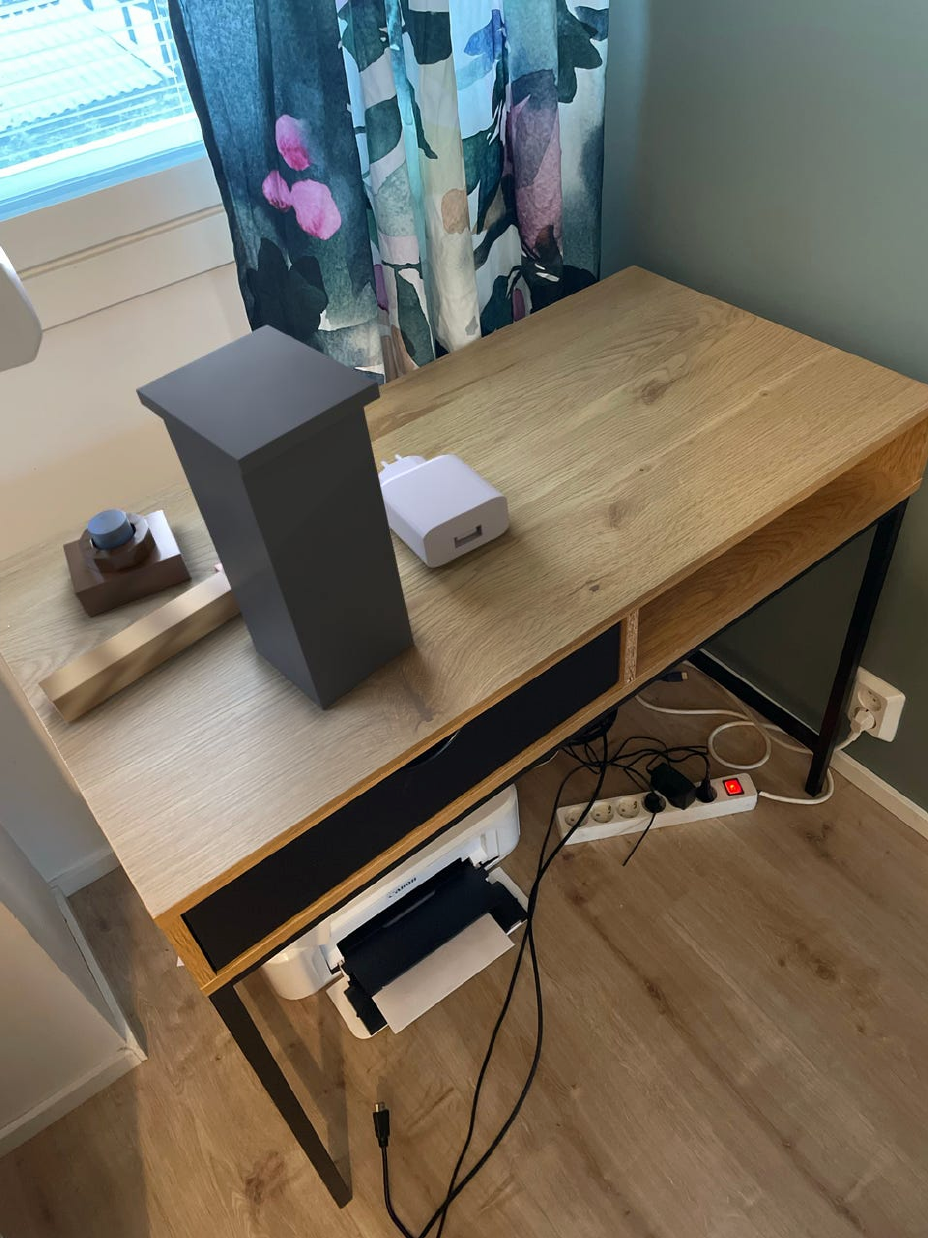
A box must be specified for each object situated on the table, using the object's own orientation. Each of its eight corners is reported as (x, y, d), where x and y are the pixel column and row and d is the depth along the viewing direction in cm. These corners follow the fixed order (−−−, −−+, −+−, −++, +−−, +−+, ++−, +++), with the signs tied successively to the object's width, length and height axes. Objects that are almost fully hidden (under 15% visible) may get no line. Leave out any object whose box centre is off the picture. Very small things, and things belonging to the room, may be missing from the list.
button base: (88, 617, 84) (66, 579, 81) (76, 568, 90) (54, 530, 86) (191, 578, 87) (174, 539, 83) (173, 533, 92) (156, 494, 88)
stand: (329, 724, 72) (237, 460, 54) (241, 645, 80) (135, 389, 61) (430, 648, 77) (377, 381, 58) (339, 580, 84) (267, 323, 66)
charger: (430, 460, 96) (510, 531, 87) (355, 495, 93) (429, 572, 84) (424, 423, 93) (506, 492, 83) (346, 458, 90) (422, 533, 80)
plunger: (99, 555, 83) (90, 539, 82) (93, 534, 86) (84, 517, 84) (137, 541, 84) (129, 525, 83) (130, 521, 86) (121, 504, 85)
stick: (72, 730, 75) (57, 708, 73) (48, 699, 78) (32, 676, 75) (287, 591, 84) (279, 567, 82) (257, 567, 87) (249, 544, 85)
